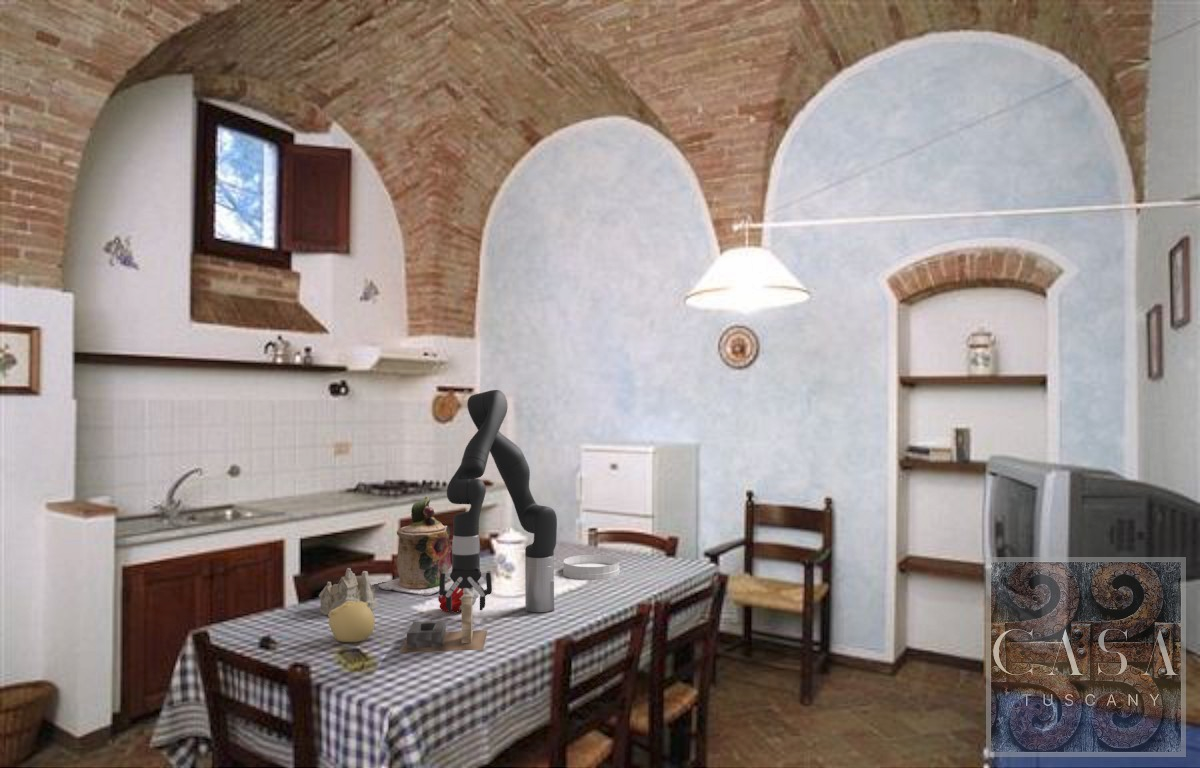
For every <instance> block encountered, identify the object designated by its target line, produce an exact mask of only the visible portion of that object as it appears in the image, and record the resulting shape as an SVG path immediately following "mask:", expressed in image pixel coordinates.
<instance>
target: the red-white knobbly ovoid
mask: <svg viewBox="0 0 1200 768" xmlns="http://www.w3.org/2000/svg"><path fill="white" fill-rule="evenodd" d="M452 585H453V583H451V584H449V585H447V586H445V590H447V591H448V590H449V589H450V587H451V586H452ZM463 594H472V607H473V606H474V605H475V604H476V602H477V599H478V598H479V596H480V594H479V593H478V592H477V591H476V590H475V588H474V587H472V588H471V589H468V588H463V589H460V588H458V587H457V588H456V589H455V590H454V592H453V593H452V594H451V596H452V610H451V611H450V612H452V613H454V612H457V611H459V612H462V597H463ZM437 601H438V602H439V609H440V610H441V611H442V612H449V611H448V609H447V608H446V597H445V596H443V595H440V594H439V595H438V599H437ZM457 613H458V612H457Z"/></svg>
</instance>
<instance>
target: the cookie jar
mask: <svg viewBox="0 0 1200 768" xmlns="http://www.w3.org/2000/svg"><path fill="white" fill-rule="evenodd" d="M430 501H431V499H430V498H429V496H428V495H427V496H425V497H424V499H423V500H421V501H418V502H415V503H414V504H413V505H412V506H411V521H412V523H411V524H409V525H407V526H402V527H400V528H398V529H397V531H396V534H397V536H398V537H399V539H398V548H397V560H396V568H397V573H398V578H396V579H392V580H389V581H385V582H383V583H380V584H378V585H377V586H378V587H379V589H380V590H381V589H382V590H385V591H391V590H392V591H395V592H399V593H405V594H414V595H420V596H425V597H429V596H431V595H433V594H436V593H439V586H440V575H441V573H442V572H446V573H450V572H449V571H450V569H452V561H451V554H450V553H451V552H452V542H453V539H450V534H451V530H450V528H449V526H448V525H443V524H442V522H441V521H440V520H437V519H436V518H435V517H434V516H435V509H434V508H433V507H430ZM451 583H454V582H453V580H452V579H451V578H450V577H449V578H448V580H447V581H445V586H447V585H449V584H451Z"/></svg>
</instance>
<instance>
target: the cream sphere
mask: <svg viewBox="0 0 1200 768" xmlns="http://www.w3.org/2000/svg"><path fill="white" fill-rule="evenodd" d="M328 615H329V616H328ZM328 615H327V616H328V626H329V628H330V629H331V632H332V635H333V637H334V638H335V639H336V640H337V641H338V642H342V643H357V642H363V641H365V640H367V639H368V638H369V637H371V635H372V633H373V631H374V629H375V625H376V624H375V623H376V620H375V615H374V613H373V611H371V609H370V608H369V607H368V606H367V603H365V602H362V601H358V602H355V601H346V602H345V603H343V604H342V605H341V606H339V607H337V608H335V609H333V610H331V611H330V612H329V614H328Z"/></svg>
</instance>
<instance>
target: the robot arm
mask: <svg viewBox="0 0 1200 768" xmlns="http://www.w3.org/2000/svg"><path fill="white" fill-rule="evenodd" d="M466 406H467V411H468V414H469V416H470V418H471V421H472V422H473V424H474V425H475V427H476V429H477V432H476V433H475V434H474V435H473V436H472V437H471V439H469V442H468V443H467V445H466V446H465V449H464V453H463V456H462V458H461V463H460V465H459V467H458V469H457V470H456V471H455V473H454V475H453V476H452V477H451V479H450V481H449V482H448V485H447V488H446V497H447V500H448V501H449V502H450V503H451V504H453V505H470V507H469V510H467V511H463V512H459V513H455V515H454V516H453V523H452V525H453V528H452V530H453V531H452V532H453V535H452V540H453V542H452V550H451V552H452V553H451V565H452V566H451V572H448V573H446V572H442V573H441V575H440V586H439V592H438V594H439V596H440V595H443V596H445V597H446V608H447V609H448V611H447V612H452V611H451V610H452V596H451V594H452V593H453V592H454V590H455V589H456V588H457V587H458V588H460V589H463V588H468V589H471V588H472V587H474V588H475V590H476V591H477V592H478V593H479V611H483V609H485V606H486V596H488V595H491V594H492V592H493V585H492V583H493V582H492V572H491V570H487V571H484V572H483V571H481V567H480V565H481V564H480V563H481V562H480V557H481V556H480V555H481V550H480V548H481V543H480V542H481V540H480V535H479V534H480V517H481V511H482V506H483V504H484V501H485V497H486V493H487V491H486V490H487V489H486V485H485V483H484V481H483V480H482V479H479V478H481V477H483V475H484V474H485V471H486V467H487V465H488V464H487V463H488V459H489V455H491V457H492V459H493V461H494V463H495V466H496V468H497V470H498V473H499V474H500V477H501V479H502V481H503V482H504V485H505V487H506V489H507V491H508V494H509V496H510V499H511V501H512V503H513V505H514V508H515V512H516V515H517V517H518V521H519V523H520V526H521V527H522V529H523V530H524V531H526V532H527V533H530V534H533V542H532V543H531V544H528V545H527V546H526V547H525V549H524V550H525V551H524V552H525V553H524V555H525V556H524V557H525V561H524V562H525V563H524V565H525V581H524V582H525V584H524V587H525V598H524V599H525V602H524V603H525V610H526V611H527V612H531V613H547V612H551V611H555V576H554V575H555V565H554V563H555V560H554V558H555V557H554V555H555V553H554V552H555V549H556V545H557V535H558V534H557V530H558V529H557V528H558V518H557V514H556V512H555V509H553V508H552V507H550V506H546V505H540V504H538V503H537V502H536V500H535V499H534V496H533V494H532V492H531V489H530V478H531V477H530V476H531V474H530V473H531V472H530V466H529V464H528V461H527V460H526V457H525V454H524V453H523V451H522V449H521V448H520V447H519V446H518V445H517V444H516V443H514V442H513V441H512V440H510V439H509V438H508V437H507V436H505V435H503V433H502V432H500V428H501V426H502V424H503V423H504V421H505V418H506V416H507V414H508V413H507V412H508V400H507V397H506V395H505V394H504V393H503V391H501V390H499V389H492V390H487V391H484V392H480V393H476V394H473V395H471V396H469V397H468V399H467V405H466ZM449 577H450V578H451V579H452V580H453V582H454V583H453V585H452V586H451V587H450V589H449V590H448V591H447V590H445V581H447V580H448V578H449ZM481 578H482V579H483V580H484V581H486V589H484V587H482V584H481V583H480V582H479V580H480V579H481Z"/></svg>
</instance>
